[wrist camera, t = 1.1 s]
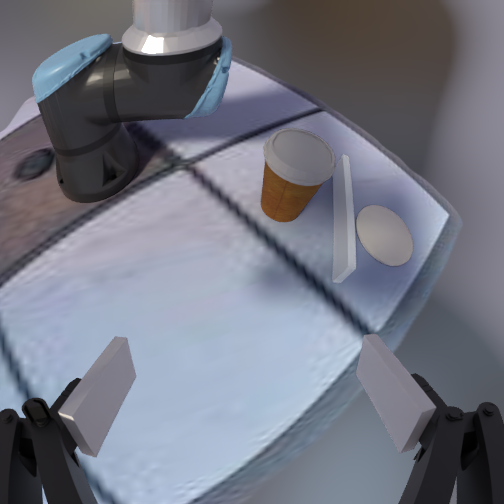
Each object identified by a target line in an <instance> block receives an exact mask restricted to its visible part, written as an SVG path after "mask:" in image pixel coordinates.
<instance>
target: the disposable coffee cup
mask: <svg viewBox="0 0 504 504" xmlns="http://www.w3.org/2000/svg"><path fill="white" fill-rule="evenodd" d="M264 156H265V168H264V178H263V187H262V197H261V207H262V210H263V211H264V213H265V214H266V215H267V216H268V217H270V218H271V219H273V220H276V221H279V222H289V221H292V220H294V219H296V218H297V217H298V215H299V214H300V212H301V211H302V210H303V209H304V207H305V206H306V205H307V203H308V202H309V201H310V199H311V198H312V197H313V196H314V194H315V193H316V192H317V190H318V189H319V188H320V186H321V185H322V184H323V183H324V182H325V181H327V180H328V179H330V178H331V176H332V175H333V173H334V171H335V155H334V152H333V150H332V149H331V147H330V146H329V145H328V144H327V143H326V142H325V141H324V140H323V139H322V138H320V137H319V136H317V135H315V134H313V133H311V132H309V131H306V130H302V129H297V128H285V129H281V130H278V131H276V132H275V133H274V134H273V135H272V136H271V137H270V138H269V139H268V140H267V141H266V142H265V145H264Z"/></svg>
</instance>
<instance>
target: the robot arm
mask: <svg viewBox="0 0 504 504" xmlns="http://www.w3.org/2000/svg"><path fill="white" fill-rule="evenodd" d="M212 5H213V0H133V20H134V24H133V25H132V26H131V27H130V28H129V29H128V30H127V31H126V32H125V33H124V35H123V37H122V43H118V44H112V43H113V39H112V38H111V36H110V35H109V34H103V35H102V34H98V35H94V36H91V37H88V38H85V39H82V40H80V41H77V42H75V43H73V44H71V45H69V46H67V47H65V48H63V49H62V50H60V51H58V52H56V53H55V54H53V55H52V56H50V57H49V58H48V59H47V60H45V61H44V62H43V63H42V64H41V65H40V66H39V67H38V68H37V70H36V71H35V73H34V75H33V79H32V83H33V89H34V93H35V101H36V103H37V104H38V107H39V110H40V113H41V116H42V119H43V121H44V124H45V127H46V129H47V132H48V135H49V137H50V140H51V142H52V144H53V147H54V149H55V152H56V172H57V180H58V184H59V186H60V188H61V190H62V192H63V193H64V195H65V196H66V197H67V198H69V199H70V200H72V201H75V202H80V203H90V202H96V201H100V200H103V199H105V198H108V197H110V196H112V195H113V194H115V193H117V192H118V191H120V190H121V189H122V188H124V187H125V186H126V185H127V184H128V183H129V182H130V181H131V179H132V178H133V177H134V175H135V173H136V171H137V169H138V165H139V156H138V150H137V146H136V144H135V142H134V141H133V139H132V138H131V136H130V134H129V133H128V131H127V130H126V128H125V127H124V125H123V124H122V122H130V121H142V120H158V119H188V118H191V117H205V116H209V115H211V114H213V113H214V112H215V111H216V110H217V108H218V107H219V105H220V103H221V101H222V98H223V95H224V92H225V89H226V85H227V81H228V76H229V73H228V71H229V69H230V65H231V59H232V43H231V41H230V40H229V39H228V38H225V37H224V36H223V37H222V27H221V25H220V24H219V23H218V22H217V21H215V20H214V19H213V18H212V17H211V12H212ZM356 375H357V377H358V378H359V380H360V382H361V384H362V385H363V387H364V389H365V391H366V392H367V394H368V396H369V398H370V400H371V401H372V403H373V405H374V407H375V409H376V410H377V412H378V414H379V416H380V418H381V419H382V421H383V423H384V425H385V427H386V429H387V430H388V432H389V434H390V436H391V438H392V439H393V442H394V443H395V445H396V447H397V449H398V451H399V453H403V452H406V451H409V450H412V449H414V447H415V446H416V444H417V442H418V441H419V442H420V444H421V445H422V446H421V448H420V450H419V451H418V453H417V454H416V456H415V458H414V460H415V459H416V461H415V464H414V467H413V470H412V472H411V475H410V478H409V480H408V483H407V485H406V488H405V490H404V492H403V495H402V497H401V499H400V501H399V503H398V504H449V502H450V499H451V496H452V492H453V488H454V484H455V480H456V476H457V504H504V424H503V420H502V417H501V414H500V412H499V409H498V407H497V406H496V405H495V404H493V403H490V402H484V403H482V404H480V405H479V407H478V408H477V410H476V411H475V412H467V413H464V412H463V411H462V410H461V409H459V408H457V407H451V406H449V407H447V405H446V404H445V403H444V402H443V400H442V399H441V398H440V397H439V396H438V394H437V393H436V392H435V391H434V390H433V388H432V387H431V386H429V384H428V382H427V381H426V380H425V379H424V378H422V377H421V376H419V375H418V374H411V375H410V374H409V373H408V371H407V370H406V369H405V368H404V367H403V365H402V364H401V363H400V362H399V360H398V359H397V358H396V357H395V356H394V354H393V353H392V352H391V351H390V350H389V348H388V347H387V346H386V345H385V344H384V343H383V341H382V340H381V339H380V338H379V337H378V335H377V334H370V335H364V339H363V344H362V349H361V354H360V359H359V363H358V368H357V372H356ZM135 378H136V373H135V369H134V365H133V361H132V357H131V353H130V349H129V345H128V340H127V338H125V337H114V339H113V340H112V341H111V342H110V344H109V345H108V346H107V347H106V349H105V350H104V351H103V352H102V354H101V355H100V356H99V358H98V359H97V360H96V361H95V363H94V364H93V365H92V367H91V368H90V369H89V370H88V372H87V373H86V374H85V376H84V377H83V378H82V379H80V378H76V379H75V380H73V381H72V382H70V383H69V384H68V386H67V387H66V388H65V391H63V392H62V393H61V395H60V396H59V397H58V398H57V400H56V401H55V402H54V404H53V405H52V406H51V408H50V409H49V407H48V405H47V403H46V402H45V401H44V400H43V399H41V398H32V399H29V400H27V401H26V402H25V403H24V404H23V406H22V411H23V413H24V415H25V416H26V418H20V417H19V416H18V414H17V412H16V411H15V410H13V409H4V410H2V411H1V412H0V504H43V498H42V486H43V489H44V493H45V496H46V499H47V502H48V504H98V503H97V501H96V499H95V497H94V494H93V492H92V490H91V488H90V486H89V484H88V481H87V479H86V477H85V474H84V472H83V469H82V467H81V464H80V462H79V459H78V456H77V454H76V453H75V449H76V447H77V446H78V447H79V449H80V451H81V452H82V453H83V454H86V455H89V456H93V457H97V455H98V452H99V450H100V448H101V446H102V444H103V442H104V440H105V438H106V436H107V434H108V432H109V430H110V427H111V425H112V423H113V421H114V419H115V417H116V415H117V413H118V411H119V409H120V407H121V405H122V403H123V401H124V399H125V398H126V396H127V394H128V392H129V390H130V388H131V386H132V384H133V382H134V380H135Z"/></svg>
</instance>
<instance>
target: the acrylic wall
mask: <svg viewBox="0 0 504 504" xmlns="http://www.w3.org/2000/svg"><path fill="white" fill-rule="evenodd" d="M333 219H334V230H333V276H332V282H335V283H341V282H342V281H343V280H344V279H345V278H347V277H348V276H349V275H350V274H351V273H352V272H353V271H354V270H355V269H356V242H355V221H354V205H353V193H352V182H351V172H350V163H349V156H346V155H343V154H342V156H341V158H340V160H339V162H338V164H337V166H336V168H335V171H334V173H333Z"/></svg>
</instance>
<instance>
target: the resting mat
mask: <svg viewBox="0 0 504 504" xmlns="http://www.w3.org/2000/svg"><path fill="white" fill-rule="evenodd" d="M356 231H357V235H358V237H359V240H360V242H361V243H362V245H363V247H364V248H365V249H366V251H367V252H368V253H369V254H370V255H371V256H372V257H373V258H375V259H376V260H377V261H379V262H381V263H383V264H385V265H388V266H400V265H403V264H404V263H406V262H407V261H408V260H409V259H410V257H411V255H412V252H413V241H412V237H411V234H410V231H409V229H408V227H407V226H406V224H405V223H404V222H403V220H402V219H401V218H400V217H399V216H398V215H397V214H395V213H394V212H393V211H391V210H390V209H388V208H385V207H383V206H379V205H369V206H366V207H364V208H363V209H362V210H361V211H360V212H359V214H358V216H357V218H356Z"/></svg>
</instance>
